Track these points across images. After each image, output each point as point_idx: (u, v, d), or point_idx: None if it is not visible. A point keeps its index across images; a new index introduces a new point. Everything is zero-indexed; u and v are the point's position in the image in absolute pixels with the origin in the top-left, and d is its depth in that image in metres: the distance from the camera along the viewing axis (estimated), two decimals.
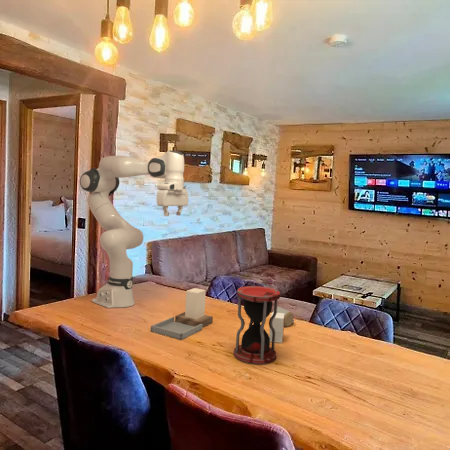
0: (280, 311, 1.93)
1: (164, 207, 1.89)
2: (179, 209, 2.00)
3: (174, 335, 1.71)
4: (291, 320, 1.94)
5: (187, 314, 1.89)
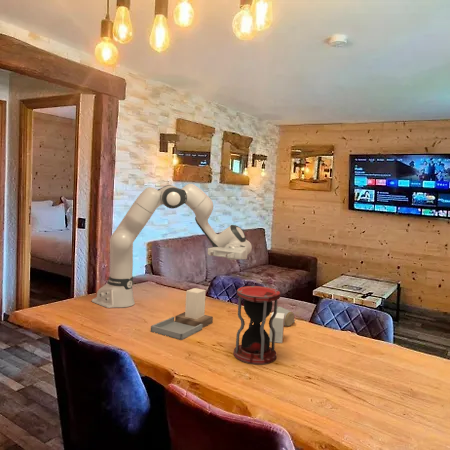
0: (281, 311, 1.94)
1: (234, 255, 2.06)
2: None
3: (174, 335, 1.71)
4: (292, 320, 1.94)
5: (187, 314, 1.89)
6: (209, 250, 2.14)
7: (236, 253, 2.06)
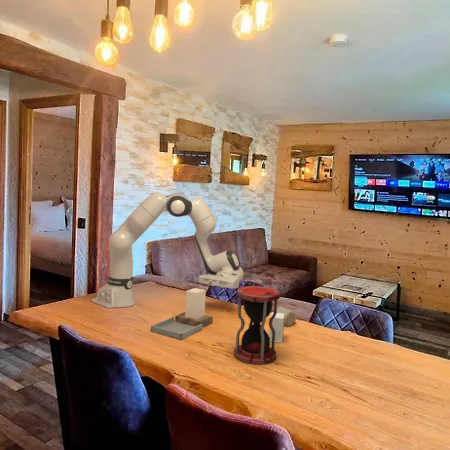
0: (282, 311, 1.94)
1: (218, 283, 2.03)
2: None
3: (174, 335, 1.71)
4: (293, 319, 1.94)
5: (187, 314, 1.89)
6: (200, 278, 2.09)
7: (228, 282, 2.01)
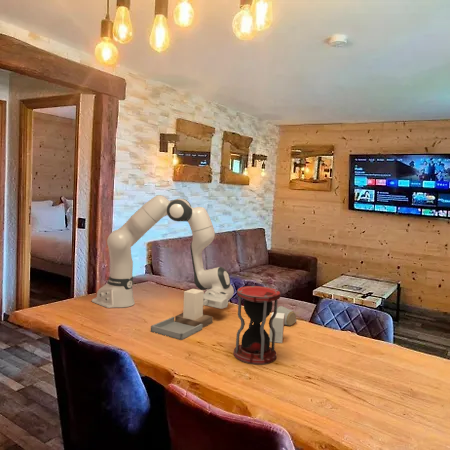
0: (283, 310, 1.95)
1: (206, 302, 1.95)
2: None
3: (174, 335, 1.71)
4: (293, 319, 1.95)
5: (185, 315, 1.88)
6: None
7: (216, 302, 1.93)
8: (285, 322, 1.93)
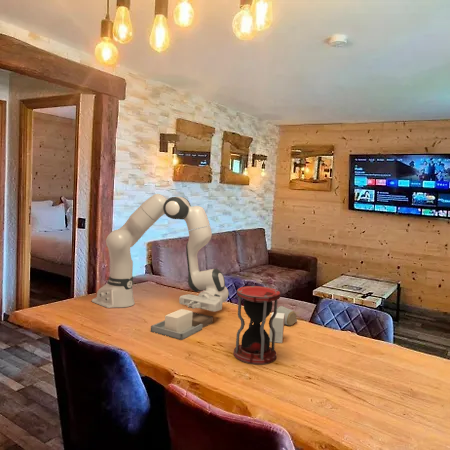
0: (283, 310, 1.95)
1: (199, 305, 1.90)
2: None
3: (174, 335, 1.71)
4: (294, 319, 1.95)
5: None
6: (181, 299, 1.96)
7: (209, 305, 1.88)
8: (285, 322, 1.93)
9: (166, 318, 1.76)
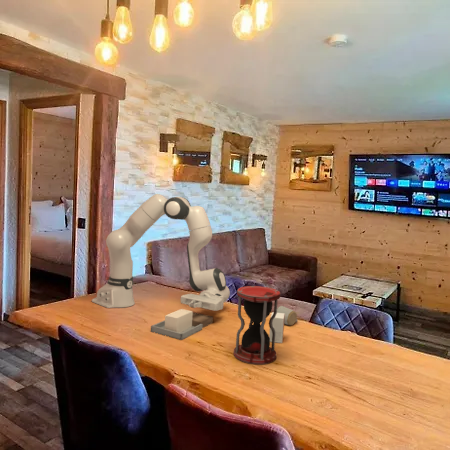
0: (283, 310, 1.95)
1: (201, 304, 1.91)
2: None
3: (174, 335, 1.71)
4: (294, 319, 1.95)
5: None
6: (182, 298, 1.96)
7: (211, 304, 1.89)
8: (286, 322, 1.93)
9: (166, 318, 1.76)
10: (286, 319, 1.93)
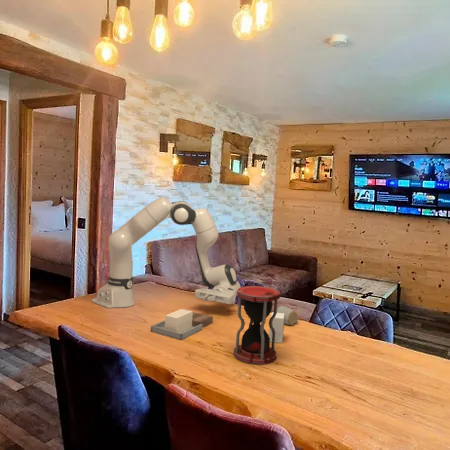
0: (284, 310, 1.96)
1: (214, 298, 2.02)
2: (206, 297, 2.03)
3: (174, 335, 1.71)
4: (295, 319, 1.96)
5: None
6: (196, 292, 2.08)
7: (224, 297, 2.00)
8: (286, 322, 1.93)
9: (166, 318, 1.76)
10: (286, 319, 1.93)
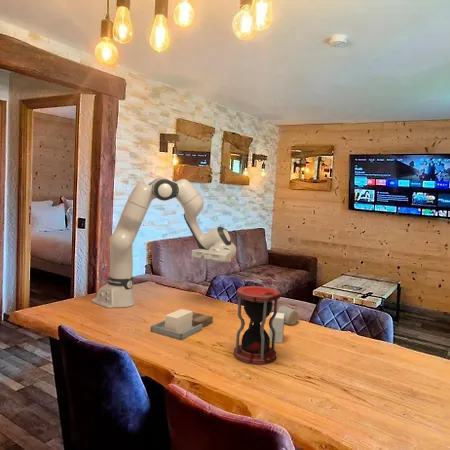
0: (285, 310, 1.96)
1: (211, 256, 2.06)
2: None
3: (174, 335, 1.71)
4: (296, 319, 1.96)
5: None
6: (193, 252, 2.12)
7: (220, 255, 2.04)
8: (287, 321, 1.94)
9: (166, 318, 1.76)
10: (287, 319, 1.93)
